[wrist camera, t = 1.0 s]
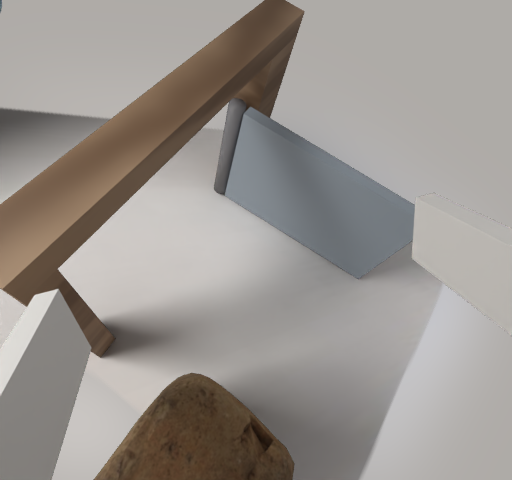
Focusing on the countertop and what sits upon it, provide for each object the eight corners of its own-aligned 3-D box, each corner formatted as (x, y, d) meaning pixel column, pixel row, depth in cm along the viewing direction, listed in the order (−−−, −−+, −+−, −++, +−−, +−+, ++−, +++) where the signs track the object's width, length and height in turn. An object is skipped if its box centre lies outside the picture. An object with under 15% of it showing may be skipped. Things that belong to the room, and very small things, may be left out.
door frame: (73, 339, 31) (-57, 248, 13) (234, 155, 45) (273, -7, 27) (100, 357, 31) (2, 288, 13) (253, 167, 45) (304, 11, 27)
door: (211, 188, 41) (225, 104, 30) (226, 171, 43) (244, 85, 31) (357, 280, 40) (431, 228, 28) (367, 258, 41) (439, 201, 30)
